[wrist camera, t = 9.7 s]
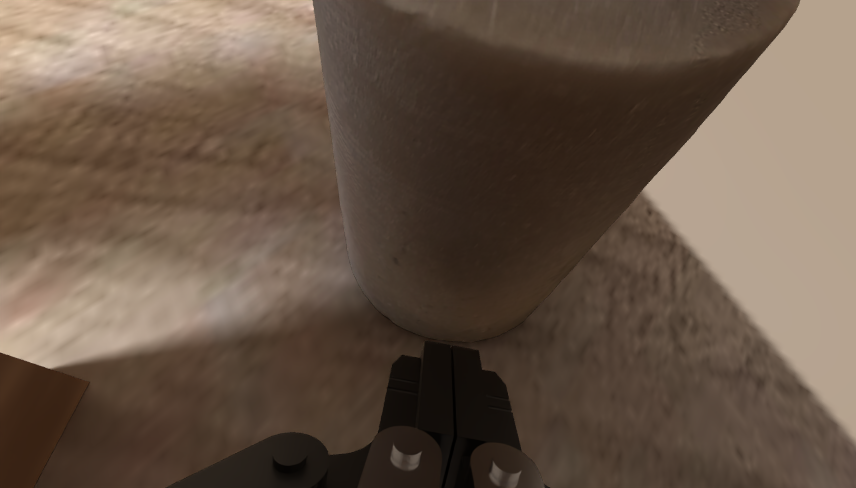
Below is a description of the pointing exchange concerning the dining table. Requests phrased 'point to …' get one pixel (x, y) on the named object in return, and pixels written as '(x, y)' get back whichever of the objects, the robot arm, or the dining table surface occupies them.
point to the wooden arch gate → (32, 417)
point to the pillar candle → (511, 136)
